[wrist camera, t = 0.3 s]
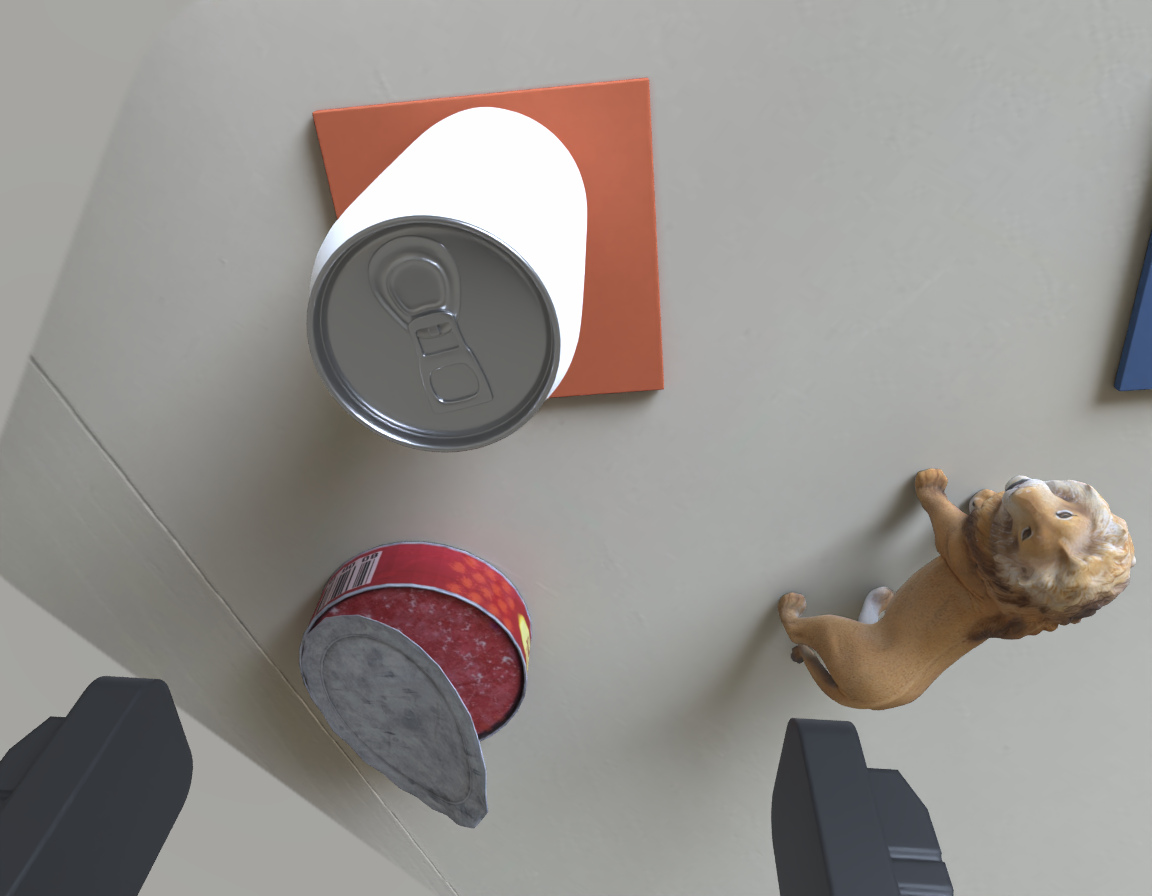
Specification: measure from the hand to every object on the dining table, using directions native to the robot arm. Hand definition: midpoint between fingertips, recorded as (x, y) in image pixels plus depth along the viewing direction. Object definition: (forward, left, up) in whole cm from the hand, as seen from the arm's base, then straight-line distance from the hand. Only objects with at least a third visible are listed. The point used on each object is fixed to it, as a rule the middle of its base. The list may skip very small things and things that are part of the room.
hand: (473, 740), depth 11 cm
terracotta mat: (0, -2, -22) cm, 22 cm away
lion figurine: (+13, +13, -22) cm, 29 cm away
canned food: (+17, -8, -22) cm, 29 cm away
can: (-2, -2, -22) cm, 22 cm away
